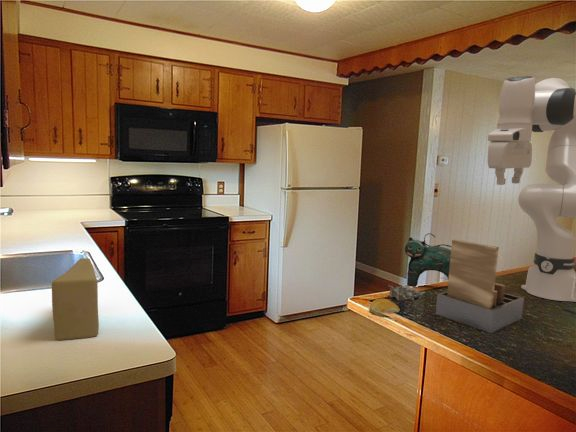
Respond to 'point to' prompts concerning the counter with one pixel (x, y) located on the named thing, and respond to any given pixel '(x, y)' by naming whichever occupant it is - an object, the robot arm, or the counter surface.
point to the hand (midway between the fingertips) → (508, 184)
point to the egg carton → (404, 290)
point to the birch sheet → (472, 272)
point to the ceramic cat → (426, 259)
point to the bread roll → (383, 307)
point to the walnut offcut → (499, 291)
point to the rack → (481, 312)
